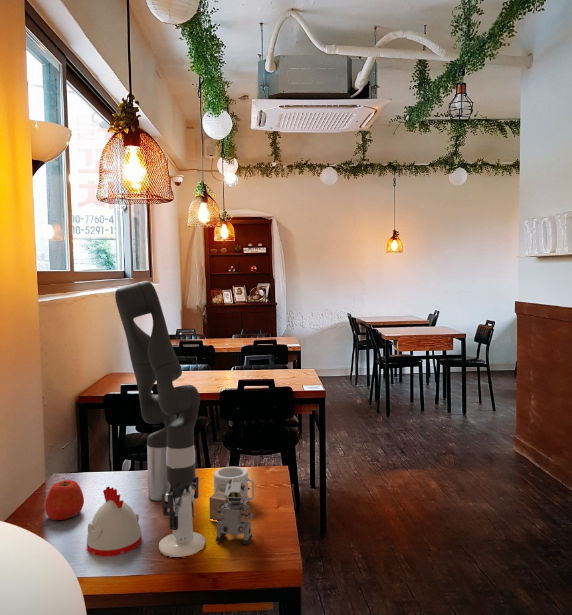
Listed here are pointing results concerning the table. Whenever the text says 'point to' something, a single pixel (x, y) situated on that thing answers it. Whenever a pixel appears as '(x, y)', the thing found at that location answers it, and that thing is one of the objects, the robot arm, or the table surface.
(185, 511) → the skincare box
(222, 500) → the walnut block
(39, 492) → the table surface
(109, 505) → the kitchen timer
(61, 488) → the apple
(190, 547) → the white glossy disc
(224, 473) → the mug
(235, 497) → the figurine
